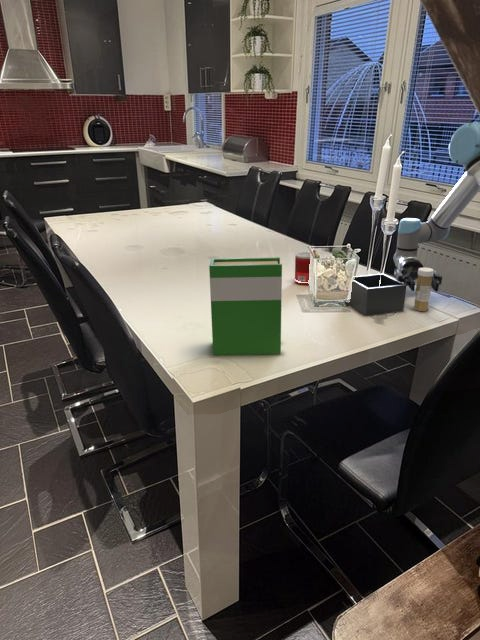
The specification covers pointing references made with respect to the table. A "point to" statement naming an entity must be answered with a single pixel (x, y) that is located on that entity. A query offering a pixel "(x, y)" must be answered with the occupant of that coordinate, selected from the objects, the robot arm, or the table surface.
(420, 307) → the sprinkles bottle
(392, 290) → the black open box
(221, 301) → the hardback book
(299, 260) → the canned food
